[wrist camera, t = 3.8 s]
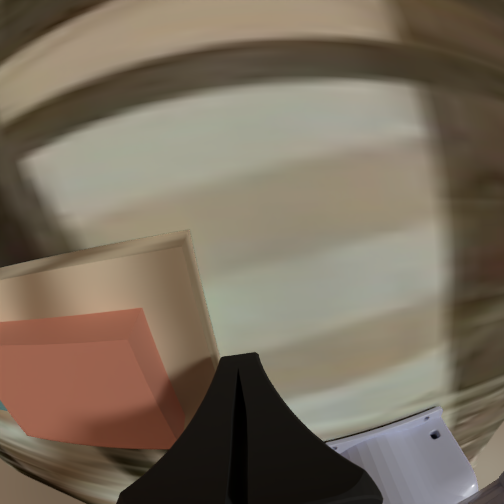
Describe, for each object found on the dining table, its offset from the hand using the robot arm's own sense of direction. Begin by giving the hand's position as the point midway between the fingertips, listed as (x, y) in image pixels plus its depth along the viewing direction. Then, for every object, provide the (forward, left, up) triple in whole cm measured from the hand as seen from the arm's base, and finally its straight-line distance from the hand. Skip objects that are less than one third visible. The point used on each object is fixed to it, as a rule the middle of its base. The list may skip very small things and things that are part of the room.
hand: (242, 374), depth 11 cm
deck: (+8, 0, -3) cm, 8 cm away
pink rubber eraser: (+8, 0, -1) cm, 8 cm away
